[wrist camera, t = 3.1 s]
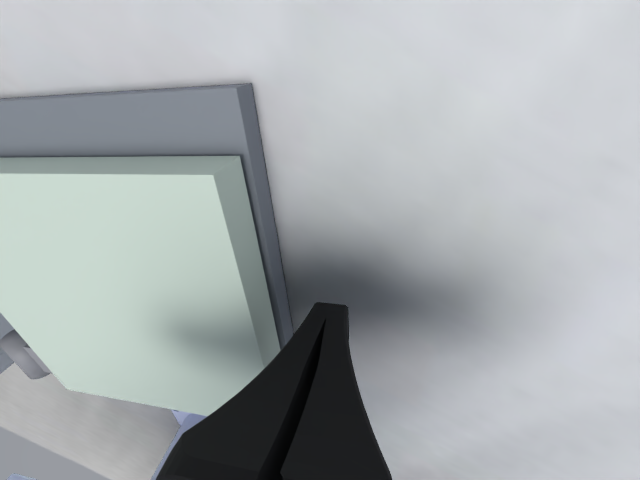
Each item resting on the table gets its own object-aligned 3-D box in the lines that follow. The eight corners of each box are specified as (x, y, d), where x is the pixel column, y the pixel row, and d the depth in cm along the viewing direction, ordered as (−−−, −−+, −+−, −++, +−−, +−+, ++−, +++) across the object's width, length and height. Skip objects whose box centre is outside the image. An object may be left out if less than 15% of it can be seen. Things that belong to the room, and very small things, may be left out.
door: (290, 397, 18) (280, 430, 16) (51, 358, 21) (25, 381, 20) (239, 155, 10) (213, 174, 9) (-114, 158, 14) (-176, 172, 12)
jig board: (303, 393, 20) (287, 455, 17) (-1, 344, 25) (-54, 384, 22) (251, 83, 10) (193, 99, 7) (-219, 111, 16) (-361, 127, 13)
